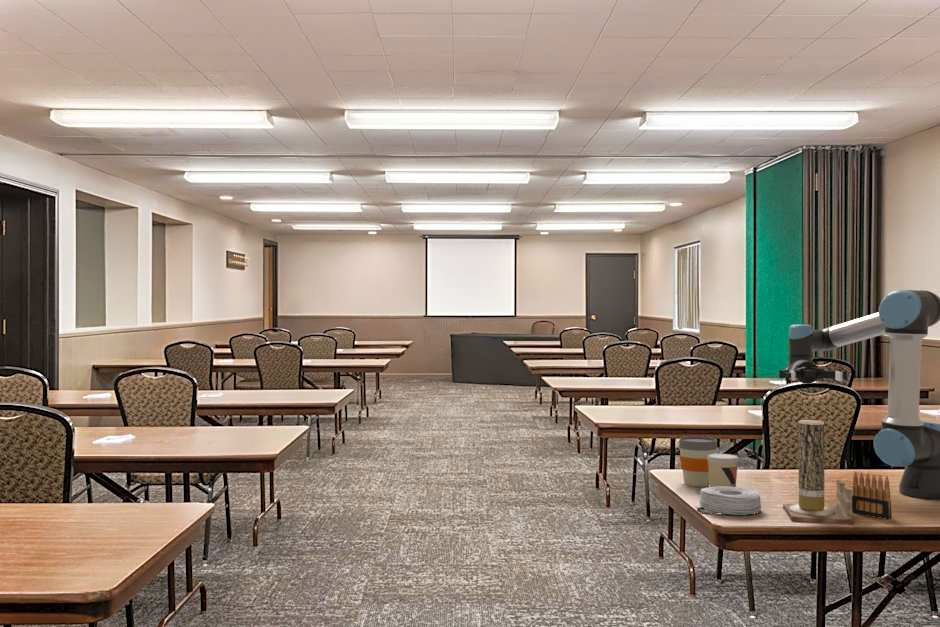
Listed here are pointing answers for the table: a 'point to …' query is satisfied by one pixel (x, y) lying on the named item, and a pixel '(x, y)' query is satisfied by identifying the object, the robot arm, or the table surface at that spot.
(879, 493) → the ammunition clip
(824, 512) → the base
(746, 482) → the table surface
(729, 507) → the cable
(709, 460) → the coffee cup
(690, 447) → the reusable coffee cup
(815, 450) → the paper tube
